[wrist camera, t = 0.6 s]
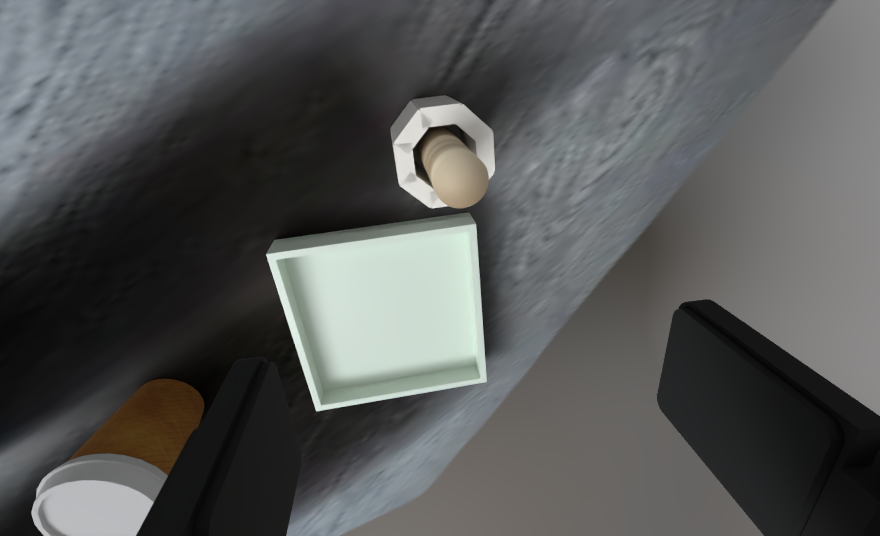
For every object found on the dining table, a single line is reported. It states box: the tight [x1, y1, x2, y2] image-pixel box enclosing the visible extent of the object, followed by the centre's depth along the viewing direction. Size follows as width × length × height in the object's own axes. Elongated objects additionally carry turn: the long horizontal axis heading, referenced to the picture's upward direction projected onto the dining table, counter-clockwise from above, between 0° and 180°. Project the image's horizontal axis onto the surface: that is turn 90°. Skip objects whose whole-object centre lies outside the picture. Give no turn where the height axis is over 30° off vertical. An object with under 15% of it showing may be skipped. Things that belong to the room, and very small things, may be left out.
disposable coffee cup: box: [31, 379, 204, 536], centre depth 37 cm, size 10×10×12 cm
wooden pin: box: [416, 125, 489, 208], centre depth 28 cm, size 3×3×12 cm
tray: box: [266, 212, 487, 411], centre depth 39 cm, size 17×17×3 cm
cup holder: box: [390, 95, 495, 208], centre depth 31 cm, size 7×7×7 cm
